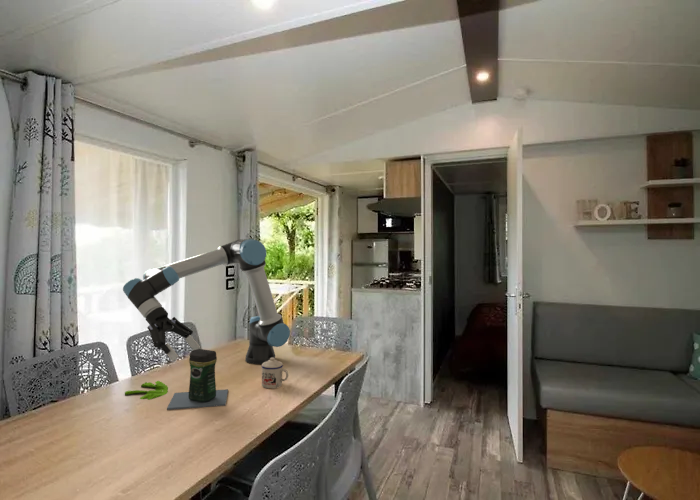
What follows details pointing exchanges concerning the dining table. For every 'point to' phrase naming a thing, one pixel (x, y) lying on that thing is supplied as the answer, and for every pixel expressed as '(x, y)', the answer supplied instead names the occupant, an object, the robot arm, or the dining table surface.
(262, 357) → the robot arm
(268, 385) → the teacup with lid
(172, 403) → the mat
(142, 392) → the cloth
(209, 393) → the coffee jar
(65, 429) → the dining table surface
